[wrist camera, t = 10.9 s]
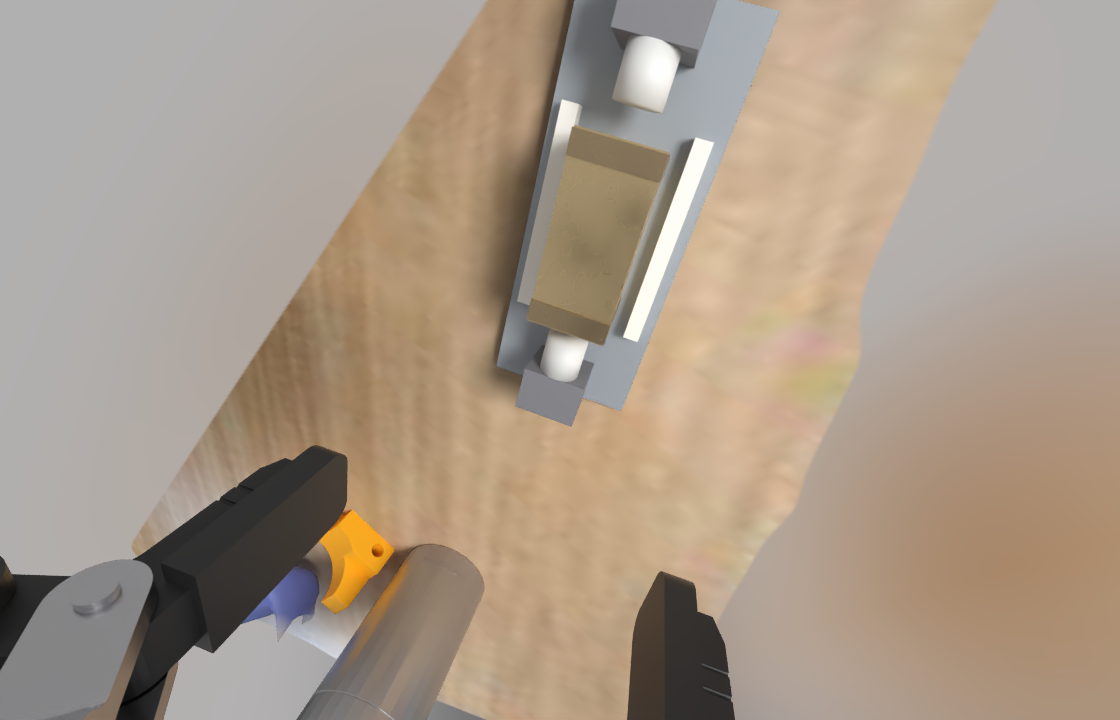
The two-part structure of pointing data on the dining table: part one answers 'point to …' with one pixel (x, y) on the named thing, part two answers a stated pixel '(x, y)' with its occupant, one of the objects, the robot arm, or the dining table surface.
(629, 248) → the tan tapered block
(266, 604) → the figurine
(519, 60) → the dining table surface
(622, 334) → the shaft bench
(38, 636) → the robot arm
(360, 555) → the pipe clamp
